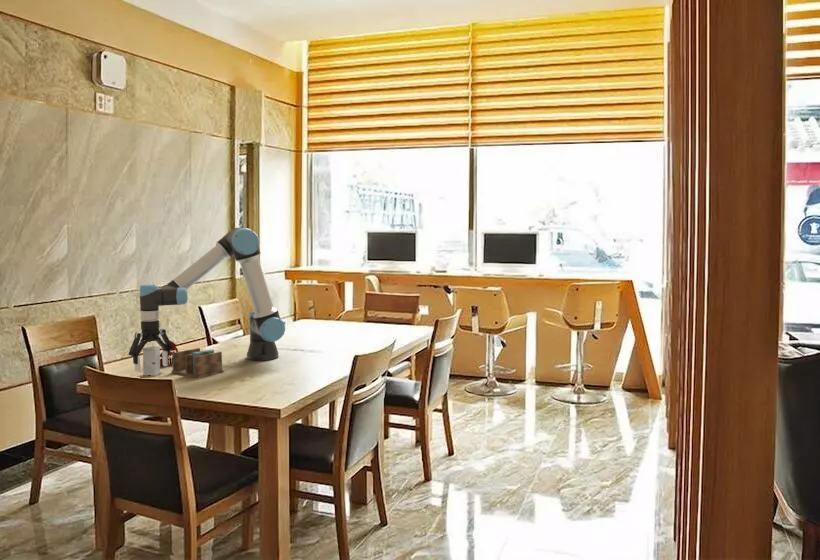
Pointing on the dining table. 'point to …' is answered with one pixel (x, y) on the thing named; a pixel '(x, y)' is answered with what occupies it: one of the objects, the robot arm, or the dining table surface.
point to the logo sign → (169, 353)
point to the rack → (197, 363)
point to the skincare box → (151, 361)
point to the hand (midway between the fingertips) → (151, 368)
